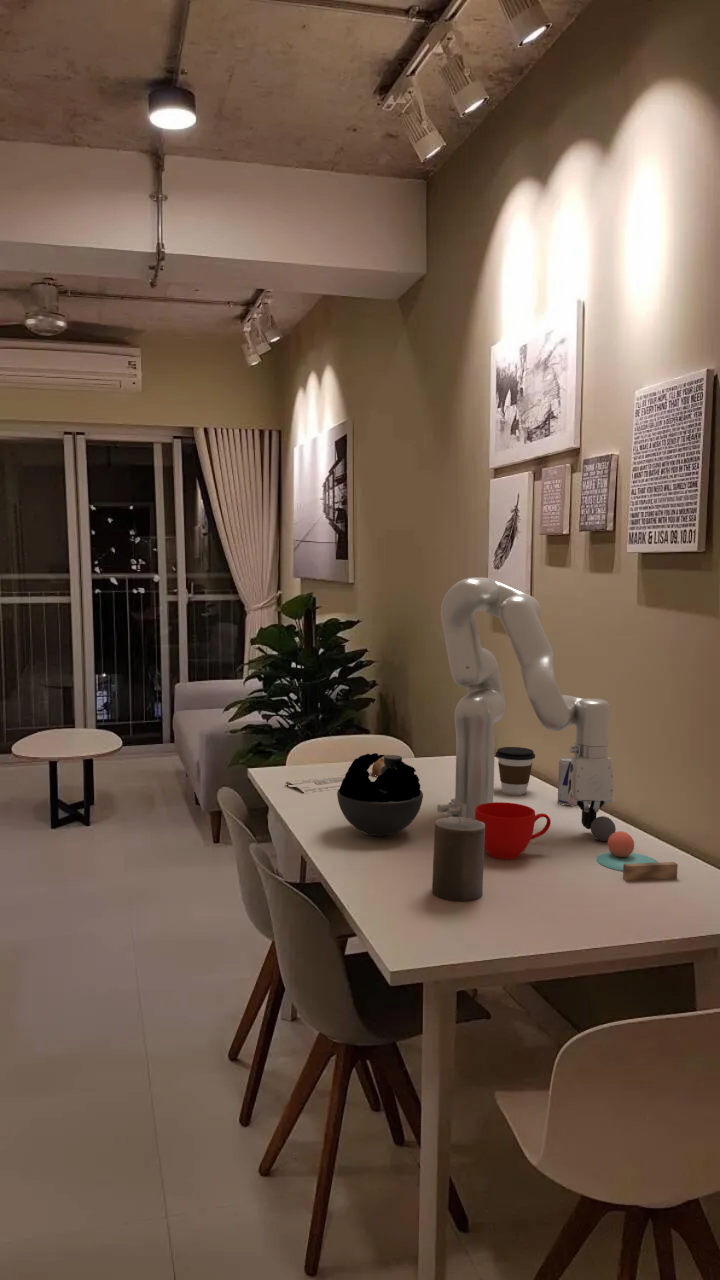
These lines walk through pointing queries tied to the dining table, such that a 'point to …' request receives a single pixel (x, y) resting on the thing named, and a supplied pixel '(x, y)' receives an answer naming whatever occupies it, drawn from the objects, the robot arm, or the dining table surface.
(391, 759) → the supplement bottle
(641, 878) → the rail
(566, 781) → the energy drink
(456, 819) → the pillar candle
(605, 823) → the gray ball
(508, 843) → the ceramic cup
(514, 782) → the coffee cup
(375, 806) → the coal bowl
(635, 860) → the disc
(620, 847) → the object ball
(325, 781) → the newspaper
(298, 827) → the dining table surface
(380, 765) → the bread roll
